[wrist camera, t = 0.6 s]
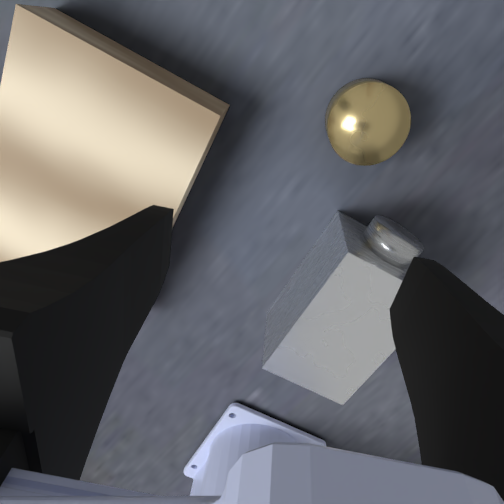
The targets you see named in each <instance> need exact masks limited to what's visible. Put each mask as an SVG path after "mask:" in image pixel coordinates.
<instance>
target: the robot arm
mask: <svg viewBox="0 0 504 504" xmlns="http://www.w3.org/2000/svg"><path fill="white" fill-rule="evenodd" d="M173 212H174V209H172V208H167V207H162V206H157V205H152V206H149V207H147V208H145V209H143V210H141V211H139V212H137V213H136V214H134V215H132V216H130V217H128V218H126V219H124V220H122V221H120V222H118V223H116V224H114V225H112V226H110V227H108V228H106V229H103V230H101V231H99V232H97V233H94V234H92V235H90V236H87V237H85V238H83V239H80V240H78V241H75V242H72V243H70V244H67V245H64V246H61V247H58V248H54V249H51V250H48V251H45V252H41V253H37V254H33V255H29V256H24V257H20V258H16V259H12V260H8V261H3V262H0V504H504V315H503V314H502V313H500V312H499V311H498V310H496V309H495V308H494V307H493V306H491V305H490V304H489V303H488V302H486V301H485V300H484V299H483V298H482V297H480V296H479V295H478V294H477V293H475V292H474V291H473V290H472V289H471V288H469V287H468V286H467V285H466V284H465V283H463V282H462V281H461V280H460V279H459V278H457V277H456V276H455V275H454V274H452V273H451V272H450V271H449V270H447V269H446V268H445V267H443V266H442V265H440V264H439V263H437V262H436V261H434V260H429V259H424V258H419V257H413V259H412V262H411V264H410V266H409V268H408V270H407V272H406V275H405V277H404V279H403V281H402V283H401V285H400V288H399V290H398V292H397V294H396V296H395V298H394V301H393V303H392V305H391V307H390V319H391V328H392V335H393V340H394V344H395V348H396V352H397V355H398V359H399V362H400V366H401V369H402V373H403V376H404V380H405V383H406V387H407V390H408V394H409V397H410V401H411V404H412V409H413V413H414V417H415V423H416V429H417V435H418V441H419V447H420V454H421V461H422V465H421V464H415V463H410V462H405V461H400V460H394V459H389V458H384V457H379V456H373V455H368V454H363V453H358V452H352V451H347V450H342V449H337V448H332V447H326V442H325V441H324V440H322V439H320V438H317V437H315V436H313V435H311V434H308V433H306V432H304V431H301V430H299V429H297V428H294V427H292V426H290V425H288V424H285V423H283V422H281V421H278V420H276V419H274V418H271V417H269V416H267V415H265V414H262V413H260V412H258V411H255V410H253V409H251V408H248V407H246V406H244V405H242V404H239V403H232V404H230V405H229V407H228V408H227V410H226V411H225V412H224V414H223V415H222V417H221V418H220V419H219V421H218V422H217V423H216V425H215V426H214V428H213V429H212V430H211V432H210V433H209V434H208V436H207V437H206V439H205V440H204V441H203V443H202V444H201V445H200V447H199V448H198V450H197V451H196V452H195V454H194V455H193V457H192V458H191V459H190V461H189V462H188V463H187V465H186V466H185V468H184V474H185V475H186V476H188V477H190V478H193V479H194V480H193V484H192V489H191V493H190V496H159V495H154V494H149V493H144V492H138V491H133V490H128V489H122V488H117V487H112V486H106V485H101V484H96V483H90V482H85V481H80V477H81V474H82V471H83V468H84V465H85V462H86V459H87V457H88V454H89V451H90V448H91V445H92V443H93V440H94V437H95V434H96V432H97V429H98V426H99V423H100V421H101V418H102V415H103V413H104V410H105V408H106V405H107V402H108V400H109V397H110V394H111V392H112V389H113V387H114V384H115V382H116V379H117V377H118V374H119V372H120V369H121V367H122V364H123V362H124V360H125V358H126V355H127V353H128V351H129V349H130V347H131V345H132V344H133V342H134V340H135V338H136V336H137V334H138V332H139V330H140V329H141V327H142V325H143V323H144V321H145V319H146V317H147V316H148V314H149V312H150V310H151V308H152V306H153V304H154V302H155V300H156V299H157V297H158V295H159V293H160V290H161V288H162V285H163V282H164V279H165V277H166V274H167V271H168V268H169V263H170V250H171V238H172V225H173ZM232 413H234V414H232Z"/></svg>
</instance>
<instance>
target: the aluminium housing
mask: <svg viewBox="0 0 504 504" xmlns="http://www.w3.org/2000/svg"><path fill="white" fill-rule="evenodd" d="M423 251H424V246H423V244H422V243H421V242H420V241H419V240H418V239H417V238H416V237H415V236H414V235H413V234H412V233H411V232H409V231H408V230H407V229H405V228H404V227H403V226H401V225H400V224H398V223H396V222H395V221H393V220H391V219H389V218H387V217H384V216H381V215H376V216H375V217H374V218H373V220H372V221H371V222H370V224H369V225H368V226H366V225H364V224H362V223H360V222H358V221H356V220H355V219H353V218H351V217H349V216H347V215H345V214H343V213H342V212H340V211H338V210H337V212H336V213H335V215H334V216H333V218H332V219H331V220H330V222H329V223H328V225H327V226H326V228H325V229H324V231H323V232H322V234H321V235H320V236H319V238H318V239H317V241H316V242H315V244H314V245H313V247H312V248H311V250H310V251H309V252H308V254H307V255H306V257H305V258H304V260H303V261H302V263H301V264H300V266H299V267H298V268H297V270H296V271H295V273H294V274H293V276H292V277H291V279H290V280H289V282H288V283H287V284H286V286H285V287H284V289H283V290H282V292H281V293H280V295H279V296H278V298H277V299H276V300H275V302H274V303H273V305H272V306H271V308H270V309H269V311H268V312H267V318H266V329H265V340H264V351H263V363H262V368H263V369H265V370H267V371H269V372H271V373H274V374H276V375H278V376H280V377H282V378H284V379H287V380H289V381H291V382H293V383H295V384H298V385H300V386H302V387H304V388H306V389H309V390H311V391H313V392H315V393H317V394H319V395H322V396H324V397H326V398H328V399H330V400H333V401H335V402H337V403H339V404H341V405H343V404H344V403H345V402H346V401H347V400H348V399H349V398H350V397H351V396H352V395H353V394H354V393H355V392H356V390H357V389H358V388H359V387H360V386H361V385H362V384H363V383H364V382H365V381H366V380H367V379H368V378H369V377H370V376H371V375H372V374H373V372H374V371H375V370H376V369H377V368H378V367H379V366H380V365H381V364H382V363H383V362H384V361H385V360H386V359H387V358H388V357H389V356H390V354H391V353H392V352H393V351H394V350H395V349H396V348H395V344H394V340H393V335H392V328H391V319H390V307H391V305H392V303H393V301H394V298H395V296H396V294H397V292H398V290H399V288H400V285H401V283H402V281H403V279H404V277H405V275H406V272H407V270H408V268H409V266H410V264H411V262H412V259H413V257H418V256H419V255H420V254H421V253H422V252H423Z"/></svg>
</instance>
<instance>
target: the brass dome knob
mask: <svg viewBox="0 0 504 504" xmlns="http://www.w3.org/2000/svg"><path fill="white" fill-rule="evenodd" d="M410 125H411V113H410V109H409V106H408V103H407V101H406V99H405V98H404V97H403V95H402V94H401V93H400V92H399V91H398V90H396V89H395V88H393V87H391V86H390V85H388V84H386V83H384V82H382V81H380V80H376V79H371V78H364V79H358V80H354V81H352V82H350V83H348V84H346V85H344V86H343V87H342V88H340V89H339V90H338V91H337V92H336V94H335V95H334V96H333V97H332V99H331V101H330V103H329V105H328V107H327V110H326V115H325V126H326V131H327V134H328V137H329V140H330V143H331V145H332V147H333V149H334V150H335V152H336V153H337V154H338V155H339V156H340V157H341V158H343V159H344V160H346V161H348V162H350V163H352V164H356V165H364V166H366V165H374V164H378V163H381V162H383V161H385V160H387V159H388V158H390V157H391V156H393V155H394V154H395V153H396V152H397V151H398V150H399V149H400V148H401V146H402V145H403V144H404V142H405V140H406V138H407V136H408V133H409V130H410Z"/></svg>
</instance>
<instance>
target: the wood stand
mask: <svg viewBox="0 0 504 504" xmlns="http://www.w3.org/2000/svg"><path fill="white" fill-rule="evenodd" d="M229 106H230V105H229V104H227V103H225V102H223V101H222V100H220V99H218V98H216V97H214V96H212V95H211V94H209V93H207V92H205V91H203V90H202V89H200V88H198V87H196V86H194V85H193V84H191V83H189V82H187V81H185V80H184V79H182V78H180V77H178V76H176V75H175V74H173V73H171V72H169V71H167V70H166V69H164V68H162V67H160V66H158V65H156V64H155V63H153V62H151V61H149V60H147V59H146V58H144V57H142V56H140V55H138V54H137V53H135V52H133V51H131V50H129V49H128V48H126V47H124V46H122V45H120V44H119V43H117V42H115V41H113V40H111V39H109V38H108V37H106V36H104V35H102V34H100V33H99V32H97V31H95V30H93V29H91V28H90V27H88V26H86V25H84V24H82V23H81V22H79V21H77V20H75V19H73V18H72V17H70V16H68V15H66V14H64V13H63V12H61V11H59V10H57V9H55V8H48V7H39V6H29V5H20V4H16V7H15V12H14V17H13V22H12V28H11V33H10V38H9V44H8V49H7V54H6V59H5V65H4V70H3V75H2V80H1V86H0V262H3V261H8V260H12V259H16V258H20V257H24V256H29V255H33V254H37V253H41V252H45V251H48V250H51V249H54V248H58V247H61V246H64V245H67V244H70V243H72V242H75V241H78V240H80V239H83V238H85V237H87V236H90V235H92V234H94V233H97V232H99V231H101V230H103V229H106V228H108V227H110V226H112V225H114V224H116V223H118V222H120V221H122V220H124V219H126V218H128V217H130V216H132V215H134V214H136V213H137V212H139V211H141V210H143V209H145V208H147V207H149V206H152V205H157V206H162V207H167V208H172V209H174V212H173V225H172V228H173V226H174V224H175V222H176V220H177V218H178V215H179V213H180V211H181V209H182V207H183V205H184V203H185V200H186V198H187V196H188V194H189V192H190V190H191V188H192V185H193V183H194V181H195V179H196V177H197V175H198V173H199V170H200V168H201V166H202V164H203V162H204V160H205V158H206V155H207V153H208V151H209V149H210V147H211V145H212V143H213V140H214V138H215V136H216V134H217V132H218V130H219V128H220V125H221V123H222V121H223V119H224V117H225V115H226V113H227V110H228V108H229Z"/></svg>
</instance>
